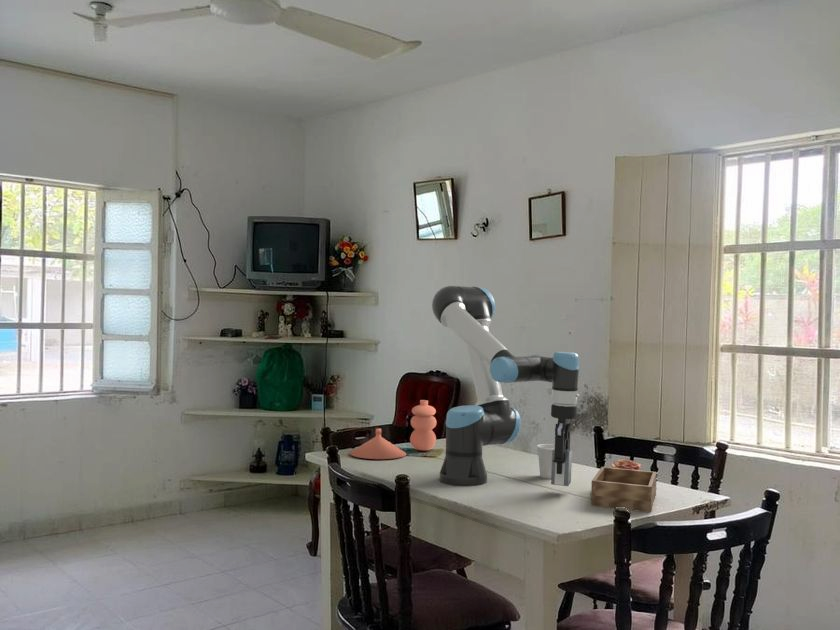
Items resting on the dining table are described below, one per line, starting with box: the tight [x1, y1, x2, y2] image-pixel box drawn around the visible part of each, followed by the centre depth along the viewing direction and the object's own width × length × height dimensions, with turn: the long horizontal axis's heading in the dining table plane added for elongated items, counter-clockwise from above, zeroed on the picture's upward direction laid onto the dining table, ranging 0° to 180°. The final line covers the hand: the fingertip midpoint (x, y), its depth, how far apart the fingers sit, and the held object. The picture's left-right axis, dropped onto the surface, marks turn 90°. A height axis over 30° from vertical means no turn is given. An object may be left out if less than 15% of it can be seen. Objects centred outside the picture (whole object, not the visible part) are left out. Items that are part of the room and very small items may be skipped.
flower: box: [610, 458, 642, 471], centre depth 235 cm, size 10×9×8 cm
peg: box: [550, 448, 573, 487], centre depth 221 cm, size 5×5×10 cm
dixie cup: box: [536, 443, 555, 480], centre depth 243 cm, size 8×8×10 cm
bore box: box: [590, 466, 658, 513], centre depth 214 cm, size 16×21×7 cm
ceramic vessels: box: [349, 399, 437, 460], centre depth 280 cm, size 35×21×19 cm, turn 121°
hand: (561, 482), depth 221 cm, fingers closed on peg, 5 cm apart
